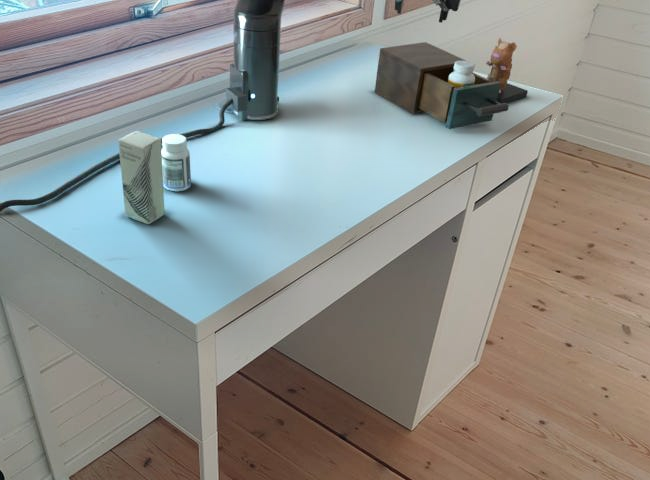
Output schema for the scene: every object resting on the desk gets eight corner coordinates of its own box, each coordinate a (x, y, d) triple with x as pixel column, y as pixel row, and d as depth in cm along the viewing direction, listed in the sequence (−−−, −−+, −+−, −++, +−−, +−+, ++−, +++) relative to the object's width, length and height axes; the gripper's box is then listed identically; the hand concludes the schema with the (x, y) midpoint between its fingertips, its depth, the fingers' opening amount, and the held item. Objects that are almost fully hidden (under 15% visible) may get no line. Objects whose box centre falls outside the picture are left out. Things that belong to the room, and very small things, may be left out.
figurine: (463, 92, 158) (475, 37, 150) (490, 84, 163) (503, 30, 155) (499, 106, 152) (513, 49, 144) (526, 97, 157) (541, 41, 149)
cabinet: (458, 106, 151) (468, 61, 145) (412, 114, 146) (420, 68, 140) (418, 85, 161) (425, 41, 154) (374, 92, 156) (380, 48, 150)
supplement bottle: (451, 104, 146) (461, 57, 140) (473, 111, 143) (483, 64, 137) (437, 110, 143) (446, 62, 137) (458, 117, 141) (468, 69, 134)
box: (124, 216, 109) (115, 138, 101) (141, 205, 112) (134, 129, 103) (150, 226, 107) (143, 147, 99) (167, 214, 110) (162, 137, 101)
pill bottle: (177, 176, 120) (174, 130, 115) (196, 185, 118) (194, 138, 113) (157, 185, 117) (153, 138, 112) (177, 194, 115) (174, 147, 110)
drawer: (510, 130, 139) (520, 91, 134) (467, 139, 135) (476, 100, 130) (450, 99, 152) (457, 62, 147) (409, 106, 147) (415, 69, 142)
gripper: (475, -57, 121) (460, 5, 137) (397, -72, 123) (391, -9, 139) (463, -21, 120) (450, 38, 136) (385, -36, 122) (381, 23, 138)
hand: (420, 14), depth 138 cm, fingers open, 8 cm apart
